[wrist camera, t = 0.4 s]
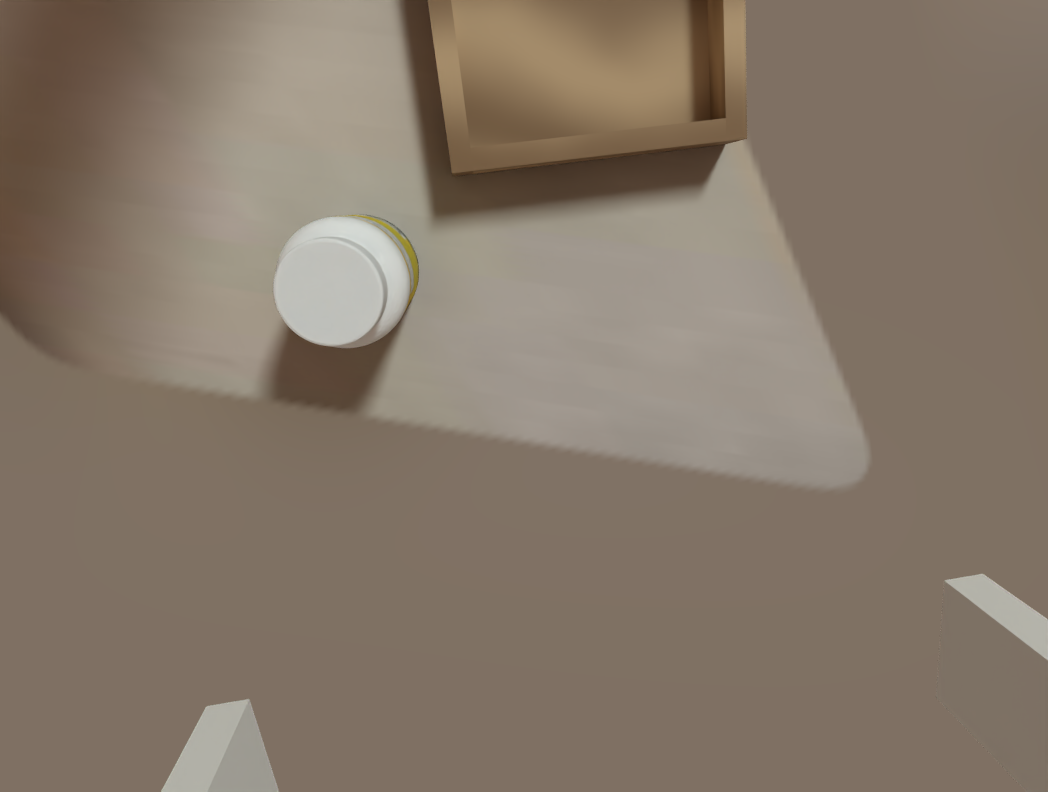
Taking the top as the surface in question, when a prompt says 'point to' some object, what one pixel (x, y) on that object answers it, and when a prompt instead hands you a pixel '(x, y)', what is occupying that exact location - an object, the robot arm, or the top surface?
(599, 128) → the tray
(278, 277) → the supplement bottle
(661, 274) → the top surface
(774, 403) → the top surface
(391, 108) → the top surface
